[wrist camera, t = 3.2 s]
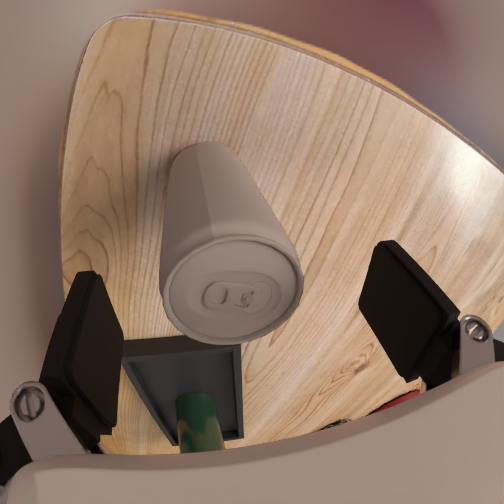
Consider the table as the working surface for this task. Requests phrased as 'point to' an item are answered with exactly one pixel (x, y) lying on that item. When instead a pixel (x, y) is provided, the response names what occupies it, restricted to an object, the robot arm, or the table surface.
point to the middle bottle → (198, 423)
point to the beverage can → (224, 252)
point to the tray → (186, 379)
